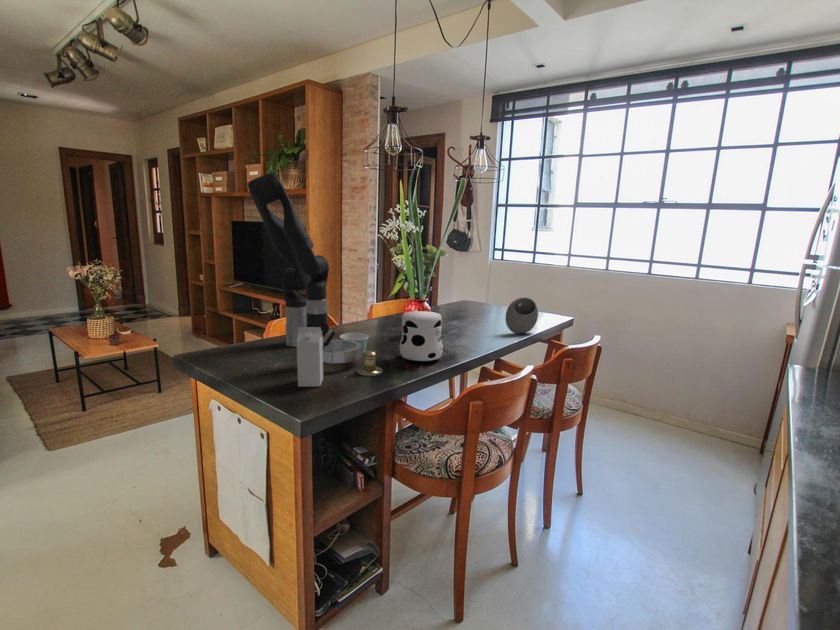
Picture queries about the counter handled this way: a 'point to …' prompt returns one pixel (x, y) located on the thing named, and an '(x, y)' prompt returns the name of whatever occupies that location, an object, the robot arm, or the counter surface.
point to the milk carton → (309, 356)
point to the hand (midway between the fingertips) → (318, 356)
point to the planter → (521, 315)
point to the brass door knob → (369, 365)
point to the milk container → (421, 336)
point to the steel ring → (341, 351)
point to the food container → (356, 339)
